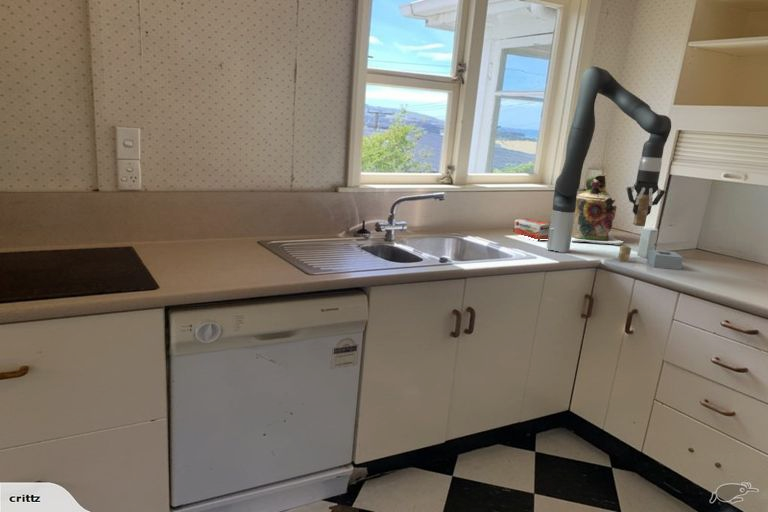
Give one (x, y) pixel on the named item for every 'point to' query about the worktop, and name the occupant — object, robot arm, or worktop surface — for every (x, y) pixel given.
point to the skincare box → (647, 241)
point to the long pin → (642, 211)
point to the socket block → (664, 259)
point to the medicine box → (531, 228)
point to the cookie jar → (594, 214)
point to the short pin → (624, 253)
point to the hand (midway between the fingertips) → (640, 214)
